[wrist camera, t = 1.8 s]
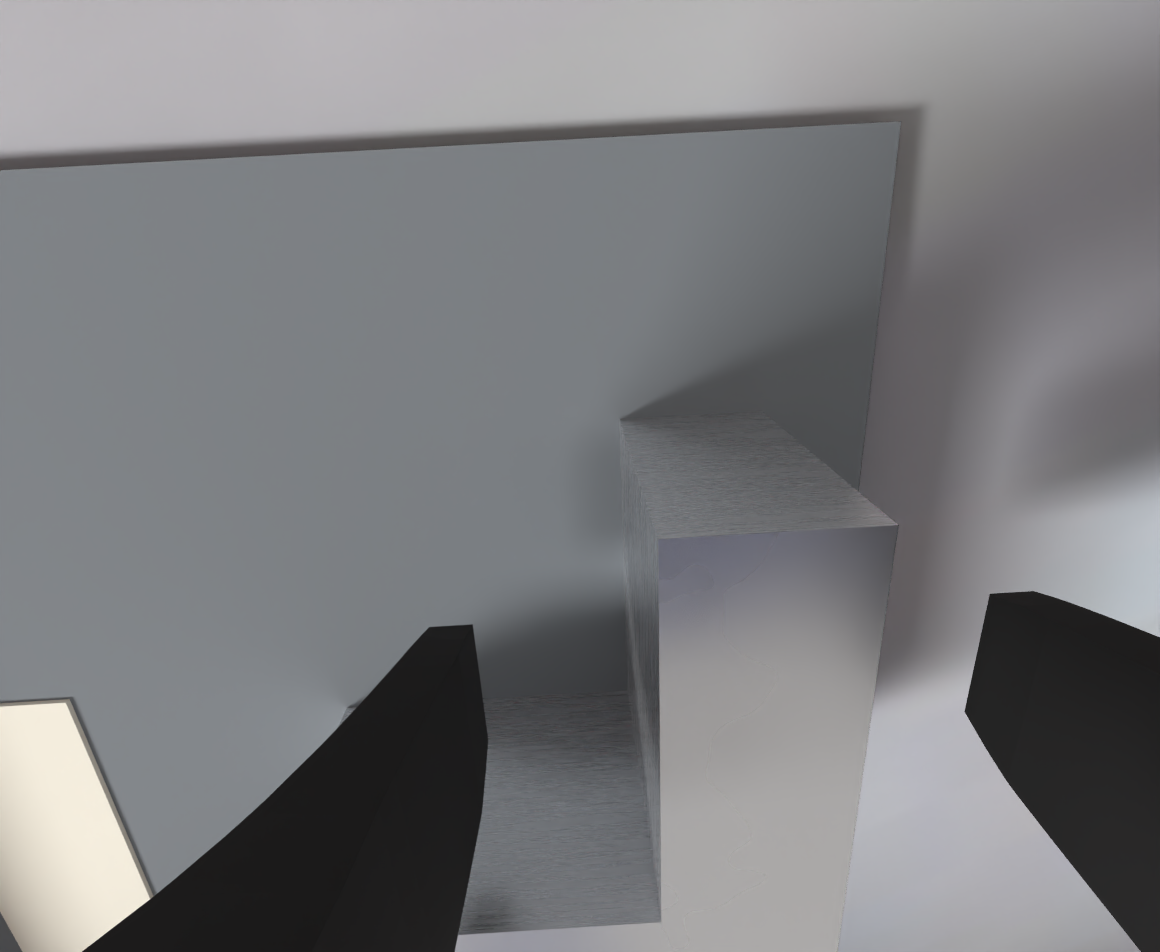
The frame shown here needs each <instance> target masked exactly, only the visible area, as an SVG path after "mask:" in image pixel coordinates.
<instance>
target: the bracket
mask: <svg viewBox="0 0 1160 952" xmlns="http://www.w3.org/2000/svg"><path fill="white" fill-rule="evenodd" d="M619 428H620V461H621V493H622V526H623V559H624V592H625V624H626V657H627V691H610V692H594V693H577V694H560V695H544V696H527V697H511V698H494V699H483V704H484V712H485V719H486V727H487V734H488V751H487V763H486V775H485V786H484V797H483V807H482V816H481V821H480V826H479V832H478V837H477V842H476V847H475V852H474V857H473V862H472V867H471V872H470V878H469V883H468V888H467V893H466V898H465V903H464V908H463V913H462V917H461V922H460V927H459V932H458V937H457V942H456V947H455V952H837V951H838V944H839V937H840V930H841V923H842V916H843V909H844V902H845V895H846V888H847V881H848V874H849V867H850V860H851V853H852V846H853V839H854V832H855V825H856V818H857V811H858V804H859V797H860V790H861V783H862V777H863V770H864V763H865V756H866V749H867V742H868V735H869V728H870V721H871V714H872V707H873V700H874V693H875V686H876V679H877V672H878V665H879V658H880V651H881V644H882V637H883V630H884V623H885V616H886V609H887V602H888V595H889V588H890V581H891V574H892V567H893V560H894V553H895V546H896V540H897V533H898V526H899V525H898V524H897V523H895V522H894V521H893V520H892V519H891V518H889V517H888V516H887V515H886V514H885V513H883V512H882V511H881V510H880V509H879V508H877V507H876V506H875V505H874V504H873V503H871V502H870V501H869V500H868V499H867V498H865V497H864V496H863V495H862V494H861V493H859V492H858V491H857V490H856V489H855V488H853V487H852V486H851V485H850V484H849V483H847V482H846V481H845V480H844V479H843V478H841V477H840V476H839V475H838V474H837V473H835V472H834V471H833V470H832V469H831V468H829V467H828V466H827V465H826V464H825V463H823V462H822V461H821V460H820V459H818V458H817V457H816V456H815V455H814V454H812V453H811V452H810V451H809V450H808V449H806V448H805V447H804V446H803V445H802V444H800V443H799V442H798V441H797V440H796V439H794V438H793V437H792V436H791V435H790V434H788V433H787V432H786V431H785V430H784V429H782V428H781V427H780V426H779V425H778V424H776V423H775V422H774V421H773V420H772V419H770V418H769V417H768V416H767V415H766V414H764V413H763V412H762V411H757V412H740V413H722V414H705V415H688V416H670V417H653V418H635V419H619ZM355 708H356V707H347V709H346V711H345V713H344V715H343V717H342V719H341V721H340V724H339V726H340V725H341V723H342V722H343V721H344V720H345V719H346V718H347V717H348V716H349V715H350V714H351V713H352V712H353V711H354V710H355ZM339 726H338V727H339Z"/></svg>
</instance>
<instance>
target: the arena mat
mask: <svg viewBox="0 0 1160 952" xmlns="http://www.w3.org/2000/svg"><path fill="white" fill-rule="evenodd" d="M900 127H901V121H896V122H878V123H859V124H841V125H823V126H804V127H786V128H767V129H749V130H731V131H712V132H694V133H676V134H657V135H639V136H621V137H602V138H584V139H565V140H547V141H529V142H510V143H492V144H474V145H455V146H437V147H419V148H400V149H382V150H363V151H345V152H327V153H308V154H290V155H272V156H253V157H235V158H217V159H198V160H180V161H161V162H143V163H125V164H106V165H88V166H70V167H51V168H33V169H15V170H0V952H82V951H83V950H85V949H86V948H87V947H89V946H90V945H91V944H92V943H94V942H95V941H96V940H98V939H99V938H100V937H102V936H103V935H104V934H105V933H107V932H108V931H109V930H111V929H112V928H113V927H115V926H116V925H117V924H118V923H120V922H121V921H122V920H124V919H125V918H126V917H128V916H129V915H130V914H131V913H133V912H134V911H135V910H137V909H138V908H139V907H141V906H142V905H143V904H144V903H146V902H147V901H148V900H150V899H151V898H152V897H153V896H155V895H156V894H157V893H158V892H160V891H161V890H162V889H163V888H164V887H166V886H167V885H168V884H169V883H171V882H172V881H173V880H174V879H175V878H177V877H178V876H179V875H180V874H181V873H182V872H184V871H185V870H186V869H187V868H188V867H190V866H191V865H192V864H193V863H194V862H195V861H197V860H198V859H199V858H200V857H201V856H202V855H204V854H205V853H206V852H207V851H208V850H210V849H211V848H212V847H213V846H214V845H215V844H217V843H218V842H219V841H220V840H221V839H222V838H224V837H225V836H226V835H227V834H228V833H229V832H230V831H232V830H233V829H234V828H235V827H236V826H237V825H238V824H239V823H241V822H242V821H243V820H244V819H245V818H246V817H247V816H248V815H249V814H251V813H252V812H253V811H254V810H255V809H256V808H257V807H258V806H259V805H260V804H261V803H262V802H264V801H265V800H266V799H267V798H268V797H269V796H270V795H271V794H272V793H273V792H274V791H275V790H276V789H277V788H278V787H279V786H280V785H281V784H282V783H283V782H284V781H285V780H286V779H287V778H288V777H289V776H290V775H291V774H292V773H293V772H294V771H295V770H296V769H297V768H298V767H299V766H300V765H301V764H302V763H303V762H305V761H306V760H307V759H308V758H309V757H310V756H311V755H312V754H313V753H314V752H315V751H316V750H317V749H318V748H319V747H320V746H321V745H322V744H323V743H324V742H325V740H326V739H327V738H328V737H329V736H330V735H331V734H332V733H333V732H334V731H335V730H336V729H337V728H338V726H339V724H340V721H341V719H342V717H343V715H344V713H345V711H346V709H347V707H357V706H358V705H359V704H360V703H361V702H362V701H363V700H364V699H365V698H366V697H367V696H368V694H369V693H370V692H371V691H372V690H373V689H374V688H375V687H376V685H377V684H378V683H379V682H380V681H381V680H382V679H383V678H384V677H385V675H386V674H387V673H388V672H389V671H390V670H391V669H392V667H393V666H394V665H395V664H396V663H397V662H398V661H399V660H400V658H401V657H402V656H403V655H404V654H405V653H406V652H407V650H408V649H409V648H410V647H411V646H412V645H413V644H414V643H415V642H416V640H417V639H418V638H419V637H420V636H421V635H422V634H423V633H424V632H425V631H426V630H427V629H428V628H429V627H437V626H454V625H471V624H473V630H474V637H475V645H476V652H477V660H478V667H479V674H480V682H481V689H482V697H483V699H494V698H511V697H527V696H544V695H560V694H577V693H594V692H610V691H627V657H626V624H625V592H624V559H623V526H622V493H621V461H620V428H619V419H635V418H653V417H670V416H688V415H705V414H722V413H740V412H757V411H762V412H763V413H764V414H766V415H767V416H768V417H769V418H770V419H772V420H773V421H774V422H775V423H776V424H778V425H779V426H780V427H781V428H782V429H784V430H785V431H786V432H787V433H788V434H790V435H791V436H792V437H793V438H794V439H796V440H797V441H798V442H799V443H800V444H802V445H803V446H804V447H805V448H806V449H808V450H809V451H810V452H811V453H812V454H814V455H815V456H816V457H817V458H818V459H820V460H821V461H822V462H823V463H825V464H826V465H827V466H828V467H829V468H831V469H832V470H833V471H834V472H835V473H837V474H838V475H839V476H840V477H841V478H843V479H844V480H845V481H846V482H847V483H849V484H850V485H851V486H852V487H853V488H855V489H856V490H857V491H858V490H859V481H860V473H861V464H862V455H863V447H864V438H865V429H866V421H867V412H868V403H869V395H870V386H871V377H872V369H873V360H874V352H875V343H876V334H877V326H878V317H879V308H880V300H881V291H882V282H883V274H884V265H885V256H886V248H887V239H888V230H889V222H890V213H891V205H892V196H893V187H894V179H895V170H896V161H897V153H898V144H899V135H900Z"/></svg>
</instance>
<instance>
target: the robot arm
mask: <svg viewBox="0 0 1160 952" xmlns="http://www.w3.org/2000/svg"><path fill="white" fill-rule="evenodd" d="M965 713H966V715H967V717H968V718H969V720H970V722H971V723H972V725H973V727H974V729H975V730H976V732H977V734H978V735H979V737H980V739H981V741H982V742H983V744H984V746H985V747H986V749H987V751H988V752H989V754H990V755H991V757H992V759H993V760H994V762H995V763H996V765H997V767H998V768H999V770H1000V771H1001V773H1002V774H1003V776H1004V778H1005V779H1006V781H1007V782H1008V783H1009V785H1010V786H1011V787H1012V789H1013V790H1014V791H1015V793H1016V794H1017V795H1018V797H1019V798H1020V799H1021V801H1022V802H1023V803H1024V804H1025V806H1026V807H1027V808H1028V810H1029V811H1030V812H1031V813H1032V815H1033V816H1034V817H1035V819H1036V820H1037V821H1038V822H1039V824H1040V825H1041V826H1042V828H1043V829H1044V830H1045V831H1046V833H1047V834H1048V835H1049V836H1050V838H1051V839H1052V840H1053V842H1054V843H1055V844H1056V845H1057V847H1058V848H1059V849H1060V850H1061V852H1062V853H1063V854H1064V855H1065V857H1066V858H1067V859H1068V860H1069V862H1070V863H1071V864H1072V865H1073V867H1074V868H1075V869H1076V870H1077V872H1078V873H1079V874H1080V876H1081V877H1082V878H1083V879H1084V881H1085V882H1086V883H1087V884H1088V886H1089V887H1090V888H1091V889H1092V891H1093V892H1094V893H1095V894H1096V896H1097V897H1098V898H1099V899H1100V901H1101V902H1102V903H1103V904H1104V906H1105V907H1106V908H1107V909H1108V911H1109V912H1110V913H1111V915H1112V916H1113V917H1114V918H1115V920H1116V921H1117V922H1118V923H1119V925H1120V926H1121V927H1122V928H1123V930H1124V931H1125V932H1126V933H1127V935H1128V936H1129V937H1130V938H1131V940H1132V941H1133V942H1134V943H1135V945H1136V946H1137V947H1138V948H1139V950H1140V951H1141V952H1160V637H1157V636H1155V635H1152V634H1150V633H1147V632H1145V631H1142V630H1140V629H1137V628H1135V627H1132V626H1130V625H1127V624H1125V623H1122V622H1119V621H1117V620H1114V619H1112V618H1109V617H1107V616H1104V615H1101V614H1099V613H1096V612H1093V611H1091V610H1088V609H1086V608H1083V607H1080V606H1077V605H1074V604H1072V603H1069V602H1066V601H1063V600H1060V599H1057V598H1054V597H1051V596H1048V595H1044V594H1041V593H1038V592H1034V591H1030V592H1013V593H996V594H990V596H989V601H988V605H987V610H986V615H985V619H984V624H983V629H982V633H981V638H980V642H979V647H978V652H977V656H976V661H975V666H974V670H973V675H972V680H971V684H970V689H969V694H968V698H967V703H966V708H965ZM487 751H488V734H487V727H486V719H485V712H484V704H483V697H482V689H481V682H480V674H479V667H478V660H477V652H476V645H475V637H474V630H473V624H471V625H454V626H437V627H429V628H428V629H427V630H426V631H425V632H424V633H423V634H422V635H421V636H420V637H419V638H418V639H417V640H416V642H415V643H414V644H413V645H412V646H411V647H410V648H409V649H408V650H407V652H406V653H405V654H404V655H403V656H402V657H401V658H400V660H399V661H398V662H397V663H396V664H395V665H394V666H393V667H392V669H391V670H390V671H389V672H388V673H387V674H386V675H385V677H384V678H383V679H382V680H381V681H380V682H379V683H378V684H377V685H376V687H375V688H374V689H373V690H372V691H371V692H370V693H369V694H368V696H367V697H366V698H365V699H364V700H363V701H362V702H361V703H360V704H359V705H358V706H357V707H356V708H355V710H354V711H353V712H352V713H351V714H350V715H349V716H348V717H347V718H346V719H345V720H344V721H343V722H342V723H341V725H340V726H339V727H338V728H337V729H336V730H335V731H334V732H333V733H332V734H331V735H330V736H329V737H328V738H327V739H326V740H325V742H324V743H323V744H322V745H321V746H320V747H319V748H318V749H317V750H316V751H315V752H314V753H313V754H312V755H311V756H310V757H309V758H308V759H307V760H306V761H305V762H303V763H302V764H301V765H300V766H299V767H298V768H297V769H296V770H295V771H294V772H293V773H292V774H291V775H290V776H289V777H288V778H287V779H286V780H285V781H284V782H283V783H282V784H281V785H280V786H279V787H278V788H277V789H276V790H275V791H274V792H273V793H272V794H271V795H270V796H269V797H268V798H267V799H266V800H265V801H264V802H262V803H261V804H260V805H259V806H258V807H257V808H256V809H255V810H254V811H253V812H252V813H251V814H249V815H248V816H247V817H246V818H245V819H244V820H243V821H242V822H241V823H239V824H238V825H237V826H236V827H235V828H234V829H233V830H232V831H230V832H229V833H228V834H227V835H226V836H225V837H224V838H222V839H221V840H220V841H219V842H218V843H217V844H215V845H214V846H213V847H212V848H211V849H210V850H208V851H207V852H206V853H205V854H204V855H202V856H201V857H200V858H199V859H198V860H197V861H195V862H194V863H193V864H192V865H191V866H190V867H188V868H187V869H186V870H185V871H184V872H182V873H181V874H180V875H179V876H178V877H177V878H175V879H174V880H173V881H172V882H171V883H169V884H168V885H167V886H166V887H164V888H163V889H162V890H161V891H160V892H158V893H157V894H156V895H155V896H153V897H152V898H151V899H150V900H148V901H147V902H146V903H144V904H143V905H142V906H141V907H139V908H138V909H137V910H135V911H134V912H133V913H131V914H130V915H129V916H128V917H126V918H125V919H124V920H122V921H121V922H120V923H118V924H117V925H116V926H115V927H113V928H112V929H111V930H109V931H108V932H107V933H105V934H104V935H103V936H102V937H100V938H99V939H98V940H96V941H95V942H94V943H92V944H91V945H90V946H89V947H87V948H86V949H85V950H83V951H82V952H455V947H456V942H457V937H458V932H459V927H460V922H461V917H462V913H463V908H464V903H465V898H466V893H467V888H468V883H469V878H470V872H471V867H472V862H473V857H474V852H475V847H476V842H477V837H478V832H479V826H480V821H481V816H482V807H483V797H484V786H485V775H486V763H487Z"/></svg>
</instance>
